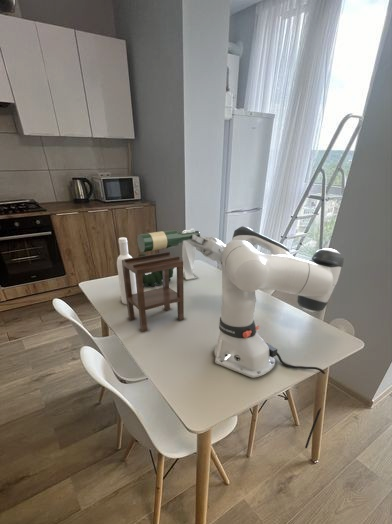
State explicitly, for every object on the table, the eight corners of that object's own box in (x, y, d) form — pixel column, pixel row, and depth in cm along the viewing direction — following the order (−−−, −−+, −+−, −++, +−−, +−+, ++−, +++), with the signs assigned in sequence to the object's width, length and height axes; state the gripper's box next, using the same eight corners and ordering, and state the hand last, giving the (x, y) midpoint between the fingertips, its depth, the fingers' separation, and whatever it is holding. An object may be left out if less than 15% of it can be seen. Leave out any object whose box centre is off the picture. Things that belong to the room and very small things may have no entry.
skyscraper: (198, 279, 173) (199, 228, 158) (185, 281, 170) (185, 229, 155) (192, 274, 180) (193, 225, 164) (180, 276, 177) (179, 226, 161)
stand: (183, 319, 132) (183, 258, 117) (142, 331, 122) (136, 267, 107) (167, 307, 141) (165, 249, 126) (128, 318, 132) (121, 257, 117)
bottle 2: (202, 244, 124) (202, 228, 120) (145, 254, 111) (144, 236, 108) (193, 241, 128) (193, 225, 124) (138, 250, 116) (136, 232, 112)
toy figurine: (142, 294, 158) (182, 281, 169) (135, 259, 147) (179, 247, 157) (134, 288, 165) (173, 276, 175) (128, 254, 154) (170, 243, 164)
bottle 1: (134, 305, 143) (127, 241, 126) (119, 304, 144) (110, 239, 127) (140, 298, 149) (134, 236, 132) (125, 297, 150) (117, 235, 134)
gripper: (223, 261, 125) (200, 248, 115) (196, 249, 139) (173, 237, 129) (230, 246, 123) (207, 232, 114) (201, 236, 137) (179, 223, 128)
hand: (189, 235), depth 122 cm, fingers closed on bottle 2, 3 cm apart
